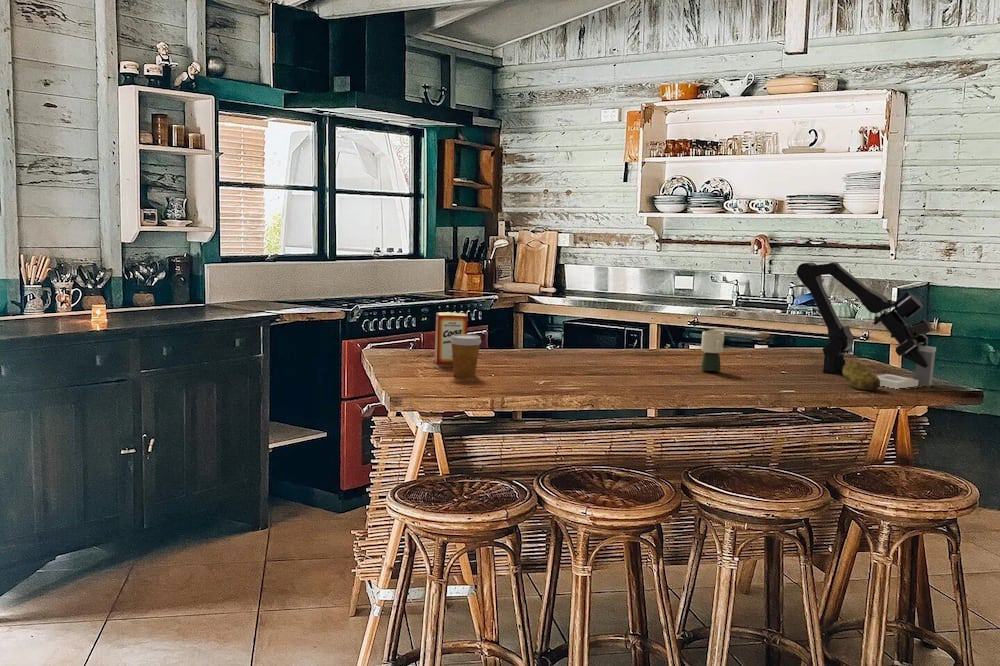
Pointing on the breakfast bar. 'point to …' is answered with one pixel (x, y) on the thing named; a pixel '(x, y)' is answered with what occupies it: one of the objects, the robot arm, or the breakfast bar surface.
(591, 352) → the breakfast bar surface
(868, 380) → the potato
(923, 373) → the grey tall block
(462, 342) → the disposable coffee cup
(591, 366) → the breakfast bar surface
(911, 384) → the socket
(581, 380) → the breakfast bar surface
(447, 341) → the baking soda box
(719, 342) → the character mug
